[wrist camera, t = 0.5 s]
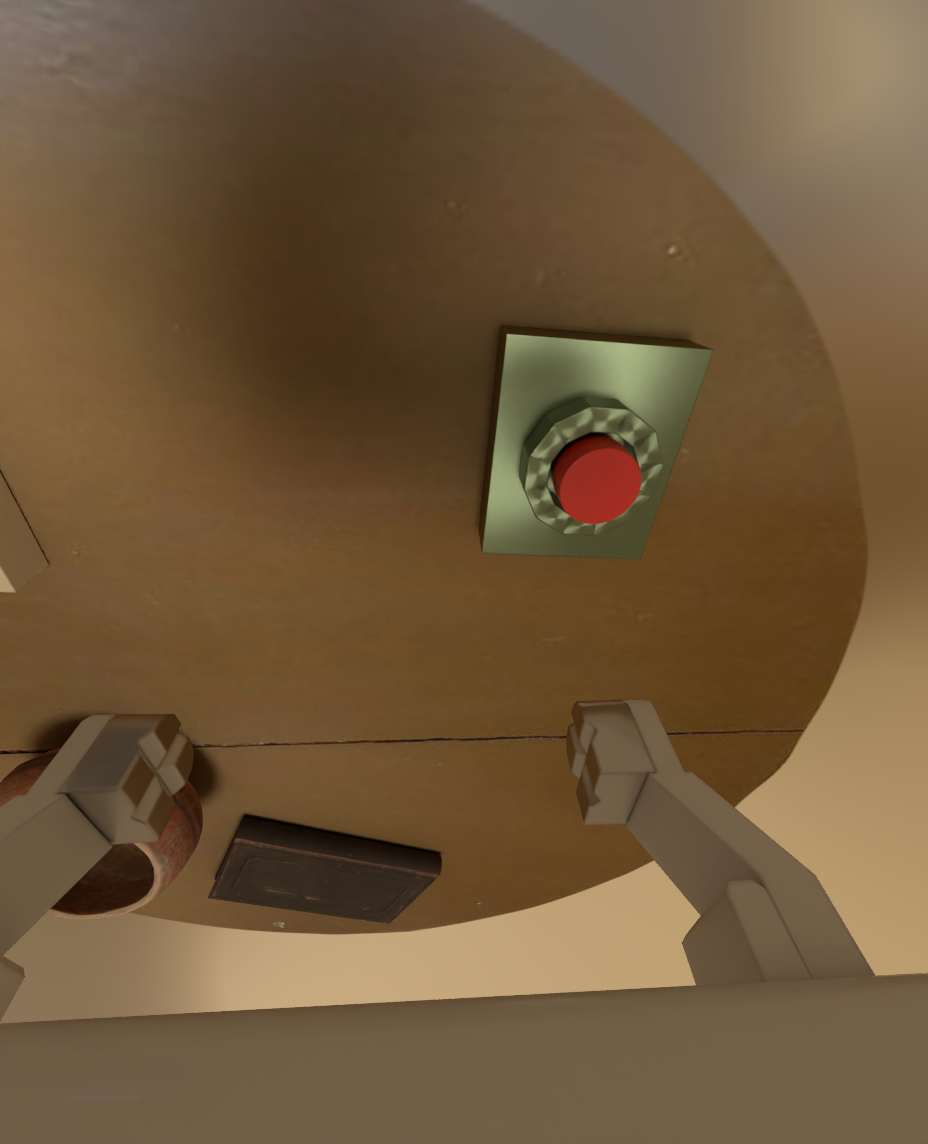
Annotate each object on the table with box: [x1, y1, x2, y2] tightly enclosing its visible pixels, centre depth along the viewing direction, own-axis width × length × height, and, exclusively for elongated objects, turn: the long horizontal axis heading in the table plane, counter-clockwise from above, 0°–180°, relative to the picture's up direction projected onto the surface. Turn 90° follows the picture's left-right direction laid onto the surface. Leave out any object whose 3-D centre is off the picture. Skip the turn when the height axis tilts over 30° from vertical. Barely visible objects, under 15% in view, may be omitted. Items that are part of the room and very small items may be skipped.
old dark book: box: [208, 816, 442, 924], centre depth 55 cm, size 16×23×2 cm
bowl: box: [0, 748, 203, 919], centre depth 39 cm, size 16×16×10 cm
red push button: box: [553, 436, 642, 524], centre depth 23 cm, size 4×4×2 cm
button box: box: [479, 326, 713, 559], centre depth 25 cm, size 12×10×4 cm
